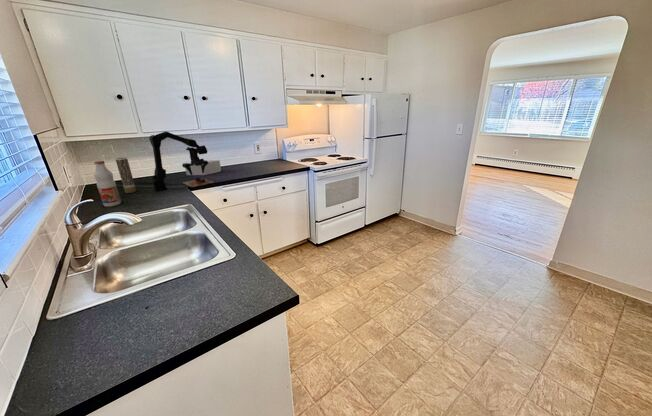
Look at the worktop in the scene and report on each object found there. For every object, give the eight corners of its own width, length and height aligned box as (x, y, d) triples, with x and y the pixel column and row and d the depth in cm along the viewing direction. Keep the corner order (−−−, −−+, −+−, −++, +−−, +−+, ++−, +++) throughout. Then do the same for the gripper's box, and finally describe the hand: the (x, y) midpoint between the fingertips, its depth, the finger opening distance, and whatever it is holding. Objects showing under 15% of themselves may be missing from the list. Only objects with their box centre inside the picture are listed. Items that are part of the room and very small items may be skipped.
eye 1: (197, 181, 220) (196, 178, 219) (195, 180, 222) (194, 177, 221) (201, 180, 223) (201, 177, 222) (199, 179, 225) (199, 176, 224)
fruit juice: (125, 202, 176) (112, 160, 165) (109, 207, 167) (95, 163, 157) (115, 201, 179) (102, 159, 168) (100, 205, 171) (85, 162, 160)
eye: (201, 183, 215) (200, 179, 214) (199, 182, 217) (198, 178, 216) (206, 182, 217) (205, 178, 216) (204, 181, 220) (203, 177, 219)
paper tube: (130, 193, 193) (120, 159, 184) (123, 193, 195) (112, 159, 186) (138, 190, 200) (129, 157, 191) (131, 190, 201) (121, 157, 192)
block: (186, 173, 249) (183, 162, 245) (220, 169, 262) (218, 159, 259) (187, 177, 237) (184, 165, 233) (222, 172, 250) (220, 161, 246)
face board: (191, 187, 207) (191, 186, 207) (182, 183, 219) (182, 182, 218) (214, 182, 219) (213, 181, 219) (204, 178, 231) (204, 177, 230)
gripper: (185, 158, 203) (189, 178, 209) (209, 154, 216) (212, 173, 222) (180, 156, 211) (184, 175, 216) (203, 153, 223) (206, 171, 229)
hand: (197, 174), depth 221 cm, fingers open, 9 cm apart
